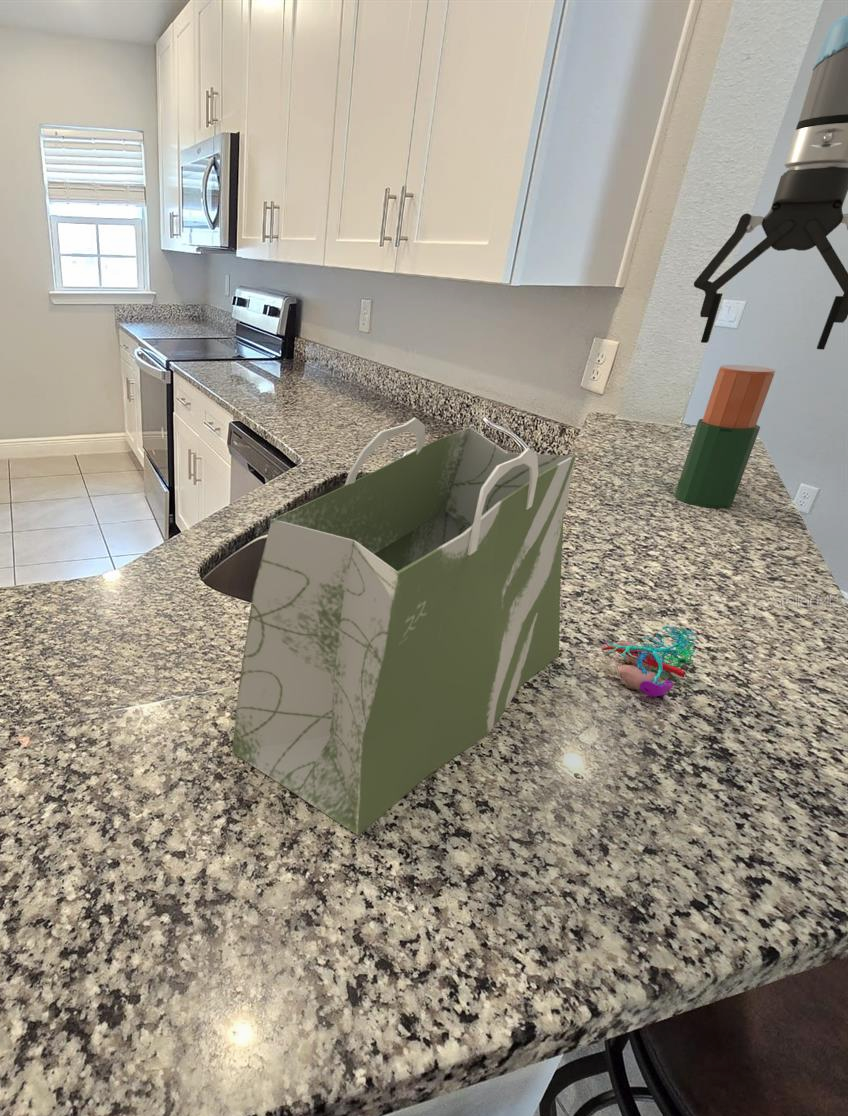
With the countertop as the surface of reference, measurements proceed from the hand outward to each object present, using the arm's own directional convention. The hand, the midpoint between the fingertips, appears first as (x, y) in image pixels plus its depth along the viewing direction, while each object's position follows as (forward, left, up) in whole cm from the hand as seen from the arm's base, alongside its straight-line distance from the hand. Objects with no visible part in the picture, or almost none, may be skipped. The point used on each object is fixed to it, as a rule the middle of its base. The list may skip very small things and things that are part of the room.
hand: (760, 345), depth 95 cm
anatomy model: (0, +62, -23) cm, 66 cm away
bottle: (+1, 0, -23) cm, 23 cm away
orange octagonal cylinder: (+1, 0, -11) cm, 11 cm away
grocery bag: (+15, +78, -23) cm, 83 cm away
